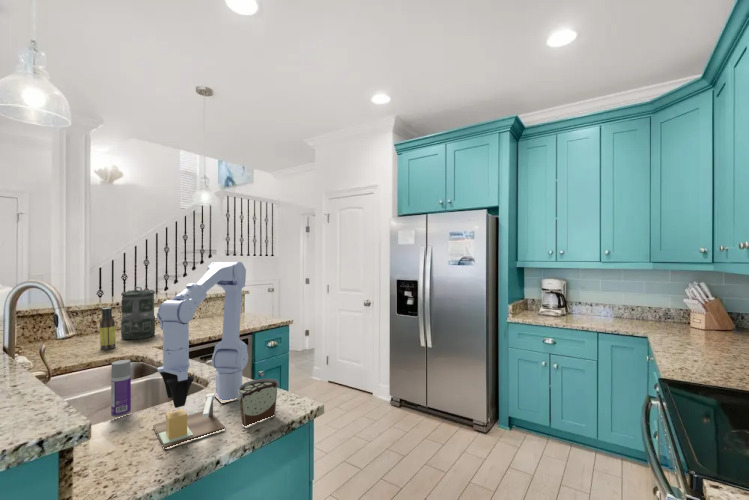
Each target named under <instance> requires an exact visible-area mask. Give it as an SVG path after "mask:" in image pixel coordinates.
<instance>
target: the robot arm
mask: <svg viewBox="0 0 749 500" xmlns="http://www.w3.org/2000/svg"><path fill="white" fill-rule="evenodd" d="M246 275H247V268H246V266H245V265H244V263H243V262H241V261H233V262H232V261H224V262H223V261H212V262H211V263H210V264H209V265H208V266H207V269H206V273H204V275H203V276H202V277H201V278H200V279H199V280H198V281H197V282H195V283H194V282H193V283H187V285H185V288H184V289H182V290H181V291H180V292H179V293H177V294H176V295H175V296H174V297H173V298H172V299H167V300H164V302H162V303H161V304H160V305H159V307H158V311H157V313H156V317H157V320H158V322H159V323H160V324H159V325H160V329H161V330H162V366H159V367H157V368H156V370H157V372H158V373H159V374H160V376H161V377H162V380H163V383H164V386H165V391H166V395H167V398H168V399H171V398H172V401H173V405H174V408H175V409H178V408H181V407H185V406H186V403H187V399H188V393H189V389H190V387H191V386H192V383H193V382H194V378H195V377H194V376H193V375H190V376H189V375H188V374H189V373H188V371H189V369H190V367H191V366H190V365H191V364H190V359H189V358H190V357H189V356H190V352H189V351H190V349H189V348H190V344H189V343H190V342H189V340H190V337H189V332H190V331H189V330H190V329H189V327H190V324H189V323H190V322H191V321H192V320H193V318H194V315H195V312H196V310H197V308H198V307H199V305H200V304H202V303H203V301H205V300H206V298H207V295H208V294H207V293H208V291H209V290H211V289H212V288H213V287H214V286H215V285H217V286H218V287H220V288H222V290H224V292H225V293H224V307H223V309H224V310H223V323H222V338H221V341H219V342H218V343H217V344H216V345H215V346H214V350H213V353H212V357H211V364H212V366H213V368H214V369H215V372H216V374H215V393H217V394H218V397H219V399H222V400H230V399H235V398H237V393H238V390H239V387H240V386H241V385H243V370H244V369H245V368H246V366H247V365H248V362H249V354H248V345H247V344H246V343H245V342H244V341H242V340H241V339H240V329H241V315H242V311H241V310H242V298H243V297H242V296H243V288H245V287H246Z"/></svg>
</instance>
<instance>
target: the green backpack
mask: <svg viewBox="0 0 749 500" xmlns="http://www.w3.org/2000/svg"><path fill="white" fill-rule="evenodd" d="M139 289H140V290H139ZM155 294H156V292H155V290H153V289H149V290H147V289H146V290H145V289H142V287H140V286H134V290H128V291H127V290H126V291H122V292H121V295H120V296H121V303H120V304H121V306H120V307H121V315H122V316H121V320H120V333H121V335H120V336H121V339H123V340H125V341H126V340H144V339H148V338H150V337H152V336H154V335H155V333H156V317H155V316H156V315H155ZM143 338H144V339H143Z"/></svg>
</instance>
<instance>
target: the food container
mask: <svg viewBox="0 0 749 500" xmlns="http://www.w3.org/2000/svg"><path fill="white" fill-rule="evenodd" d="M278 388H280V383H279V380H278V379H275V378H260V379H253V380H249V381H247V382H244V383H242V385H241V386H240V387H239V390H238V393H237V399H238V400H237V401H239V406H240V415H241V416H240V417H241V425H242V424H243V425H244V426H247V425H249V424H252V423H255V422H257V421H260V420H262V419H265V418H268V417H271V416H273V415H275V416H276V409H277V399H278V398H277V397H278Z"/></svg>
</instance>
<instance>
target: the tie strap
mask: <svg viewBox="0 0 749 500" xmlns="http://www.w3.org/2000/svg"><path fill="white" fill-rule="evenodd" d="M215 393H216V392H212V393H211V392H210V393H206V395H205V401H206V402H205V404H204V409H203V411H204V412H203V418H207V417H208V416H209V412H210V408H211V403H212V400H213V401H214V400H215Z"/></svg>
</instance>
